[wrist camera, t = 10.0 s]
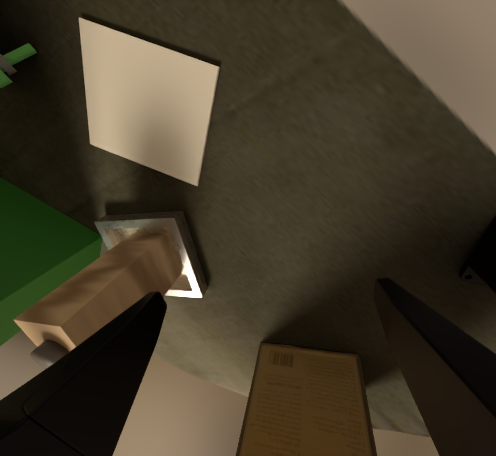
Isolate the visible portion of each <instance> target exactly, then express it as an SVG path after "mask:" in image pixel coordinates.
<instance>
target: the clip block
mask: <svg viewBox="0 0 496 456" xmlns="http://www.w3.org/2000/svg"><path fill="white" fill-rule="evenodd" d="M181 274H182V273H181V270H180V267H179V265H178V262H177V259H176V257H175V254H174V251H173V249H172V246H171V243H170V240H169V238H168V235H167V233H136V234H131V235H130V236H128V237H127V238H126V239H124V240H123V241H121V242H120V243H119V244H117V245H116V246H114V247H113V248H112V249H110V250H109V251H108V252H106V253H105V254H103V255H102V256H101V257H99V258H98V259H96V260H95V261H94V262H92V263H91V264H90V265H88V266H87V267H85V268H84V269H83V270H81V271H80V272H78V273H77V274H76V275H74V276H73V277H72V278H70V279H69V280H67V281H66V282H65V283H63V284H62V285H60V286H59V287H58V288H56V289H55V290H53V291H52V292H51V293H49V294H48V295H47V296H45V297H44V298H42V299H41V300H40V301H38V302H37V303H35V304H34V305H33V306H31V307H30V308H29V309H27V310H26V311H24V312H23V313H22V314H20V315H19V316H17V317H16V318H15V319H13V320H14V321H15V323H16V324H17V325H18V326H19V327H20V328H21V329H22V330H23V331H24V332H25V334H26V335H27V336H28V337H29V338H30V339H31V340H32V341H33V342H34V343H35V345H36V346H37V348H36V349H35V350H34V351H33V352H31V357H32V358H33V359H34V360H35V361H36V362H37V363H38V364H39V365H41V366H42V367H43V368H45V369H47V368H48V367H49V366H51V365H52V364H54V363H55V362H56V361H58V360H59V359H60V358H62V357H63V356H64V355H66V354H67V353H69V352H70V351H71V350H73V349H74V348H75V347H77V346H78V345H79V344H81V343H82V342H83V341H85V340H86V339H87V338H89V337H90V336H91V335H93V334H94V333H95V332H97V331H98V330H99V329H101V328H102V327H103V326H105V325H106V324H107V323H109V322H110V321H112V320H113V319H114V318H116V317H117V316H118V315H120V314H121V313H122V312H124V311H125V310H126V309H128V308H129V307H130V306H132V305H133V304H134V303H136V302H137V301H138V300H140V299H141V298H142V297H144V296H145V295H146V294H148V293H149V292H152V291H159V292H160V293H161V294H162V296H163V297H164V296H165V294H166V293H167V292H168V290H169V289H170V288H171V286H172V285H173V284H174V283H175V281H176V280H177V279H178V277H179V276H180V275H181Z"/></svg>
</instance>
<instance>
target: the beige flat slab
mask: <svg viewBox="0 0 496 456" xmlns="http://www.w3.org/2000/svg"><path fill="white" fill-rule="evenodd" d="M79 26H80V37H81V48H82V59H83V70H84V81H85V92H86V103H87V114H88V125H89V136H90V144H91V145H94V146H96V147H99V148H101V149H104V150H106V151H109V152H112V153H114V154H117V155H119V156H122V157H124V158H127V159H129V160H132V161H134V162H137V163H139V164H142V165H144V166H147V167H150V168H152V169H155V170H157V171H160V172H162V173H165V174H167V175H170V176H172V177H175V178H177V179H180V180H183V181H185V182H188V183H190V184H193V185H195V186H198V185H199V179H200V174H201V168H202V163H203V158H204V152H205V147H206V141H207V136H208V130H209V125H210V119H211V114H212V109H213V103H214V98H215V92H216V87H217V81H218V76H219V70H220V67H218V66H215V65H212V64H209V63H207V62H204V61H201V60H198V59H195V58H192V57H190V56H187V55H184V54H181V53H178V52H175V51H173V50H170V49H167V48H164V47H161V46H158V45H156V44H153V43H150V42H147V41H144V40H141V39H139V38H136V37H133V36H130V35H127V34H125V33H122V32H119V31H116V30H113V29H110V28H108V27H105V26H102V25H99V24H96V23H93V22H91V21H88V20H85V19H82V18H79Z"/></svg>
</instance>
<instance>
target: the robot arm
mask: <svg viewBox="0 0 496 456" xmlns="http://www.w3.org/2000/svg"><path fill="white" fill-rule="evenodd" d="M466 275H468V276H466ZM459 277H460V278H461V279H462V280H463V281H466V282H472V283H478V284H484V285H487V286H488V287H489V288H490V289H491V290H492V291H493V292H494V293H495V294H496V218H495V219H494V221H493V222H492V224H491V225H490V227H489V228H488V230H487V231H486V233H485V234H484V236H483V238H482V239H481V240H480V242H479V243H478V245H477V246H476V248H475V249H474V251H473V252H472V254H471V255H470V257H469V259H468V260H467V262H466V264H465V265H464V267H463V268H462V270H461V271H460V273H459ZM374 300H375V303H376V306H377V309H378V312H379V315H380V319H381V322H382V325H383V328H384V331H385V334H386V337H387V340H388V342H389V345H390V347H391V349H392V352H393V354H394V356H395V358H396V360H397V363H398V365H399V367H400V369H401V372H402V374H403V376H404V378H405V380H406V383H407V385H408V387H409V389H410V391H411V394H412V396H413V398H414V400H415V403H416V405H417V407H418V409H419V411H420V414H421V416H422V418H423V420H424V422H425V425H426V427H427V429H428V431H429V434H430V436H431V438H432V440H433V442H434V445H435V447H436V449H437V451H438V453H439V456H496V354H495V353H494V352H492V351H491V350H489V349H488V348H487V347H485V346H484V345H482V344H481V343H479V342H478V341H477V340H475V339H474V338H472V337H471V336H470V335H468V334H467V333H465V332H464V331H463V330H461V329H460V328H458V327H457V326H455V325H454V324H453V323H451V322H450V321H448V320H447V319H446V318H444V317H443V316H441V315H440V314H439V313H437V312H436V311H434V310H433V309H431V308H430V307H429V306H427V305H426V304H424V303H423V302H422V301H420V300H419V299H417V298H416V297H415V296H413V295H412V294H410V293H409V292H407V291H406V290H405V289H403V288H402V287H400V286H399V285H398V284H396V283H395V282H393V281H392V280H391V279H389V278H377V279H376V280H375V286H374ZM166 309H167V304H166V302H165V300H164V298H163V296H162V294H161V293H160V292H159V291H152V292H149V293H148V294H146V295H145V296H144V297H142V298H141V299H140V300H138V301H137V302H136V303H134V304H133V305H132V306H130V307H129V308H128V309H126V310H125V311H124V312H122V313H121V314H120V315H118V316H117V317H116V318H114V319H113V320H112V321H110V322H109V323H107V324H106V325H105V326H103V327H102V328H101V329H99V330H98V331H97V332H95V333H94V334H93V335H91V336H90V337H89V338H87V339H86V340H85V341H83V342H82V343H81V344H79V345H78V346H77V347H75V348H74V349H73V350H71V351H70V352H69V353H67V354H66V355H64V356H63V357H62V358H60V359H59V360H58V361H56V362H55V363H54V364H52V365H51V366H49V367H48V368H47V369H45V370H44V371H43V372H41V373H40V374H38V375H37V376H35V377H34V378H32V379H31V380H30V381H28V382H27V383H25V384H24V385H22V386H21V387H19V388H18V389H16V390H15V391H14V392H12V393H11V394H9V395H8V396H6V397H5V398H3V399H2V400H0V456H112V455H113V453H114V450H115V448H116V445H117V442H118V440H119V437H120V435H121V432H122V430H123V427H124V425H125V422H126V420H127V417H128V415H129V412H130V409H131V407H132V404H133V402H134V399H135V396H136V394H137V392H138V389H139V386H140V384H141V382H142V379H143V376H144V374H145V371H146V369H147V366H148V363H149V361H150V359H151V356H152V354H153V351H154V348H155V346H156V343H157V340H158V337H159V334H160V330H161V327H162V323H163V320H164V316H165V313H166Z"/></svg>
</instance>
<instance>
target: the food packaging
mask: <svg viewBox="0 0 496 456" xmlns="http://www.w3.org/2000/svg"><path fill="white" fill-rule="evenodd" d="M236 456H377V452H376V446H375V441H374V435H373V429H372V424H371V418H370V412H369V407H368V401H367V395H366V390H365V384H364V378H363V372H362V367H361V361H360V356H359V355H356V354H349V353H341V352H332V351H324V350H317V349H309V348H301V347H295V346H290V345H279V344H270V343H260V346H259V351H258V356H257V361H256V366H255V370H254V375H253V379H252V384H251V388H250V393H249V397H248V402H247V407H246V411H245V416H244V420H243V425H242V429H241V434H240V438H239V443H238V447H237V452H236Z"/></svg>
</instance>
